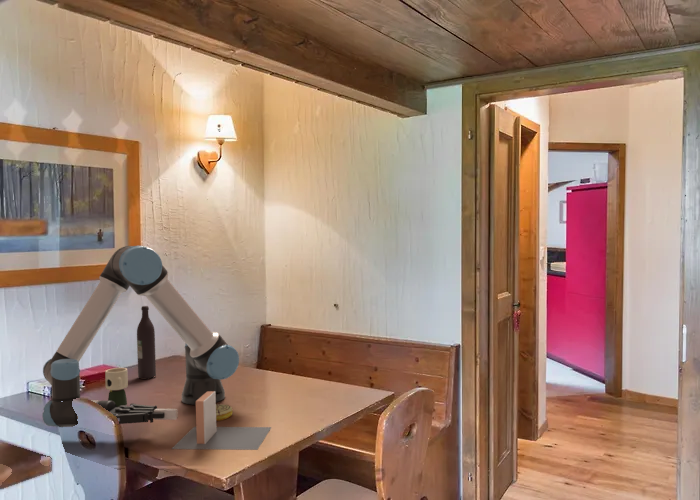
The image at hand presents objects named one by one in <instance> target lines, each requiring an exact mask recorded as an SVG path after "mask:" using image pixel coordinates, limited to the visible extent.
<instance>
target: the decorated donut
mask: <svg viewBox="0 0 700 500" xmlns="http://www.w3.org/2000/svg"><path fill="white" fill-rule="evenodd" d="M232 415H233V407H232V406H231V405H228V404H222V403H221V404H220V403H219V404H216V422H220V421H225V420H227V419H229V418H230V417H232Z"/></svg>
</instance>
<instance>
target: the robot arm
mask: <svg viewBox="0 0 700 500" xmlns="http://www.w3.org/2000/svg"><path fill="white" fill-rule="evenodd" d="M168 277H169V271H168V270H167V269H166V268H165V266H164V265H163V261H162V259H161V256H160V255H159V254H158V252H156V251H155V250H154V249H152V248H150V247H149V246H146V245H144V246H143V245H125V246H122V247H120V248H118V249H117V250H115V252H114V253H113V254H112V255H111V257H110V259H109V260H108V262H107V263H106V265H105V267H104V268H103V270H102V272H101V273H100V275H99V277H98V278H99V282H98V284H97V285H96V287H95V290H94V291H93V292H92V294H91V296H90V297H89V298H88V300H87V302H86V303H85V305H84V307H83V308H82V310H81V311H80V313H79V315H78V316H77V318H76V319H75V321H74V323H72V326H71V328H70V329H69V330H68V332H67V334H65V336H64V339H63V340H62V342H61V343H60V344H59V346H58V347H57V349H56V351H55V352H54V354H53V355H52V357H51V358H50V359H48V360H47V361H46V362H45V363H44V365H43V368H42V374H43V378H44V379H45V380H46V381H47V382H48V383H49V384H50V386H51V400H49V401H48V402H46V403H45V404H44V407H43V412H42V421H43V423H44V424H45V425H46V426H48V427H56V428H57V427H58V428H74V427H73V426H75V425H77V424H78V421H77V419H78V416H77V414H76V413H75V411H74V409H73V407H72V401H73V399H76V398H80V399H81V378H80V377H81V376H80V375H81V374H80V373H81V369H80V361H81V359H82V358H83V356H84V354H86V351H87V349H88V348H89V346H90V345H91V343H92V342H93V340H94V338H95V336H96V335H97V333H98V332H99V330H100V329H101V327H102V325H103V323H104V322H105V320H106V319H107V318H108V316H109V314H110V312H111V311H112V309H113V308H114V306H115V304H116V303H117V302H118V300H119V298H120V296H121V295H122V293H127V292H128V290H129V289H130V288H131V289H132V290H133V291H134V292H135V294H137V296H140V297H141V296H142V297H143V296H144V297H146V299H148V301H149V302H150V303H151V305H152V306H153V307H154V308H155V309H156V310H157V311H158V312H159V314H160V315H161V316H162V317H163V318H164V319H165V321H166V322H167V323H168V324H169V326H171V328H172V329H173V330H174V331H175V333H177V335H178V336H179V337H180V339H182V340H183V342H184V343H185V345H184V349H185V350H184V354H185V382H184V386H183V389H182V392H181V402H182V403H183V404H187V405H194V406H196V401H197V400H198V399H199V398H200V397H201V396H202V395H204V394H205V393H206V392H207V391H215V393H216V403H218V402H221V401H222V400H224V399H225V398H226V396H225V395H226V391H225V389H224V386H223V383H222V380H227V379H228V378H230V377H232V376H233V375H234V374H235V372H236V371H237V369H238V368H239V363H240V355H239V353H238V351H237V349H236V348H235V347H234V346H232V345H231V344H229V343H227V341H225V340H224V338H223V337H222V336H221V335H220V333H219V332H217V331H211V330H210V329H209V328H208V326H207V325H206V324H205V323H204V321H203V320H202V319H201V318H200V316H199V315H198V314H197V313H196V311H194V309H193V308H192V307H191V306H190V305H189V303H188V302H187V301H186V300H185V299H184V297H183V296H182V294H180V292H179V291H178V290H177V289H176V287H175V286H174V285H173V284H172V283H171V281H170V280H169V278H168ZM61 401H63V402H61ZM91 401H93V402H95V403H97V404H99V405H101V406H102V407H103V408H105V409H106V410H108V411H109V412H111V413H112V414H113V415H114V416H116V417H117V419H118V421H119V424H118V425H123V424H124V425H125V424H126V425H127V424H139V423H141V424H142V423H148V422H150V423H154V420H161V421H162V420H165V421H167V420H173V421H174V420H176V421H177V419H178V418H179V412H178V411H179V409H178V408H158V406H157V405H146V404H145V405H144V404H136V403H134V402H133V403H130V404H129V405H128V406H127V405H121V406H119V407H117V406H116V404H115V402H114V401H108V400H100V399H99V400H97V399H96V400H94V399H93V400H91Z"/></svg>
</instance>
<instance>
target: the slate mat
mask: <svg viewBox="0 0 700 500" xmlns="http://www.w3.org/2000/svg"><path fill="white" fill-rule="evenodd" d="M271 429H272V426H269V427H268V426H216V430H217V431H216V433H215V434H214V435H213V436H212V437H211V438H210V439H209V440H208V442H207V443H206V444H197V431H196V426H193V427H192V428H191V429H190V430H189V431H188V432H187V433H186V434H185V435H184V436H183V437H182V438H181V439H180V440H179V441H178V442H177V443H175V445H174V446H173V447H172V448H171V450H223V451H224V450H237V451H239V450H240V451H241V450H242V451H247V450H249V451H253V450H254V451H257V450H258V451H259V448H260V447H261V445H262V443H263V442H264V440H265V439H266V437H267V435H268V434H269V432H270V431H271Z"/></svg>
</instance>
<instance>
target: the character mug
mask: <svg viewBox="0 0 700 500" xmlns="http://www.w3.org/2000/svg"><path fill="white" fill-rule="evenodd" d="M104 373H105V389H106V390H108V391H109V392H108V398H107V401H114V402H115V404H116V406H117V407H119V406H121V405H126V406H127V405H128V399H127V398H128V397H127V395H126V394H127V393H126V390H125V389H127V388H128V386H129V385H128V384H129V383H128V368H126V367H115V368H110V369H106V370H105V371H104Z"/></svg>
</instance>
